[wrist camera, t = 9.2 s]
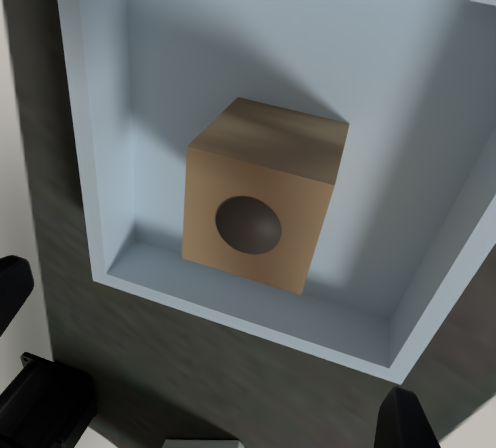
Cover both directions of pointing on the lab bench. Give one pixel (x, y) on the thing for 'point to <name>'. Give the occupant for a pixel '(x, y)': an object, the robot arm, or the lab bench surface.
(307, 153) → the walnut block
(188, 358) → the lab bench surface
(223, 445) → the small box
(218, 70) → the sorting tray
